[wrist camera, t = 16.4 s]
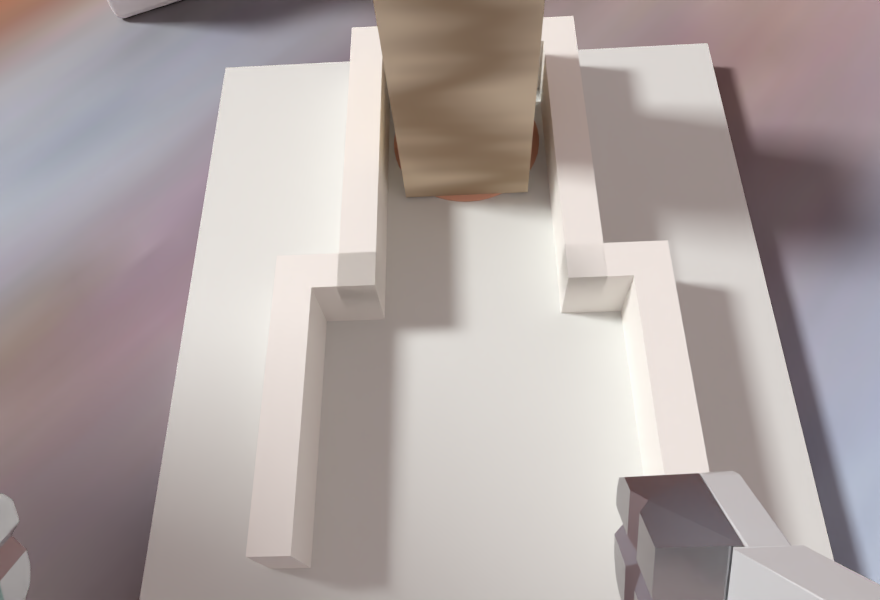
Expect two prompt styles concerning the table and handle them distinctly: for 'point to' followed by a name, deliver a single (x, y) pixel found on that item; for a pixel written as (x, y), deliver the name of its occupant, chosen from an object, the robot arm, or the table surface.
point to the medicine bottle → (135, 6)
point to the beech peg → (462, 91)
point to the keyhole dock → (465, 341)
